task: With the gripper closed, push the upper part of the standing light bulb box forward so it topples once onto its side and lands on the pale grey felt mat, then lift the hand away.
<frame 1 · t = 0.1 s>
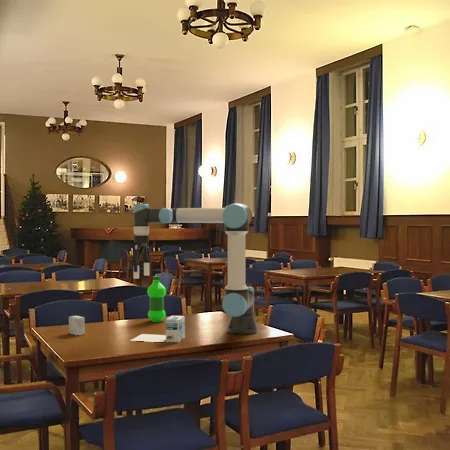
hand: (141, 277, 290), 28 cm above the table, fingers open, 13 cm apart
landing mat: (151, 338, 276), on the table
medicine box: (76, 334, 286), on the table
plastic bottle: (156, 321, 319), on the table
light bulb box: (175, 340, 273), on the table
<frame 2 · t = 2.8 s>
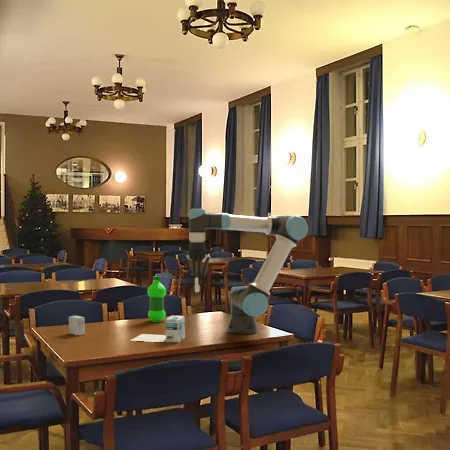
hand: (197, 291, 270), 23 cm above the table, fingers closed
nothing on the table moved.
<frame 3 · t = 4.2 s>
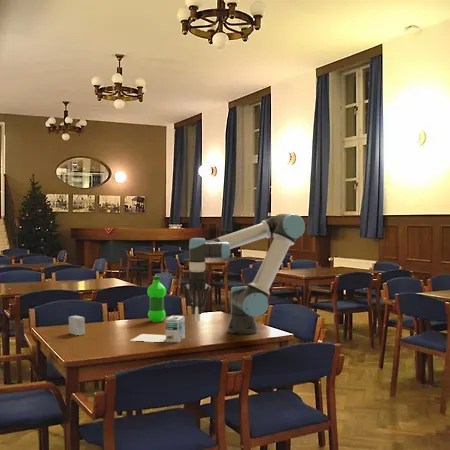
hand: (197, 321, 270), 9 cm above the table, fingers closed
nothing on the table moved.
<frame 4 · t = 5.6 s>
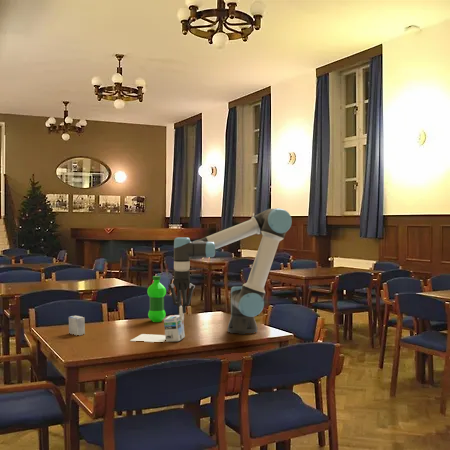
hand: (181, 320, 272), 10 cm above the table, fingers closed
light bulb box: (175, 339, 273), on the table, touching gripper
everything else where it was.
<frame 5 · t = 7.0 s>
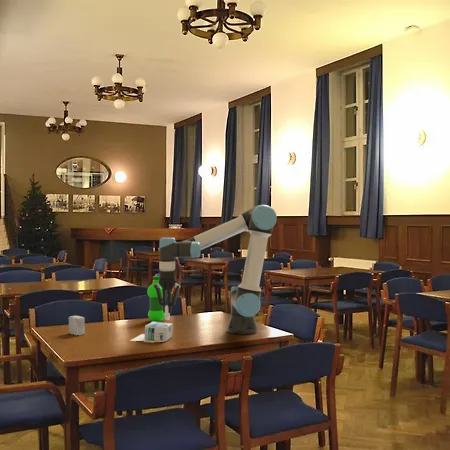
hand: (167, 319, 273), 10 cm above the table, fingers closed
light bulb box: (170, 332, 273), point 3 cm above the table, touching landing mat
everything else where it was.
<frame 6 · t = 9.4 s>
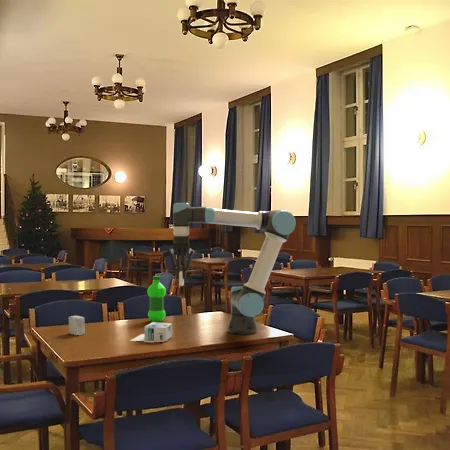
hand: (181, 285, 271), 26 cm above the table, fingers closed
nothing on the table moved.
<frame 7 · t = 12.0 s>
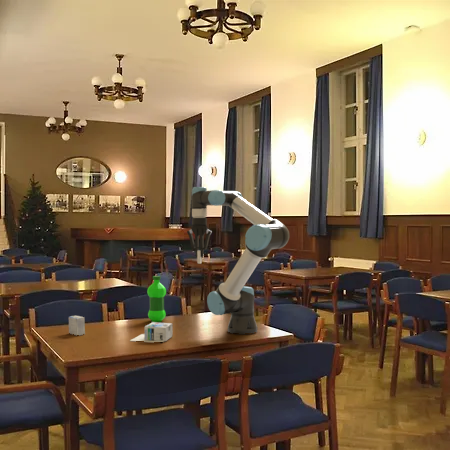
hand: (199, 263, 294), 34 cm above the table, fingers closed
nothing on the table moved.
at the end: light bulb box tilted 89°; light bulb box inside the target area (6.7 cm from its centre), point 3.5 cm above the table; the gripper is holding nothing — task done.
